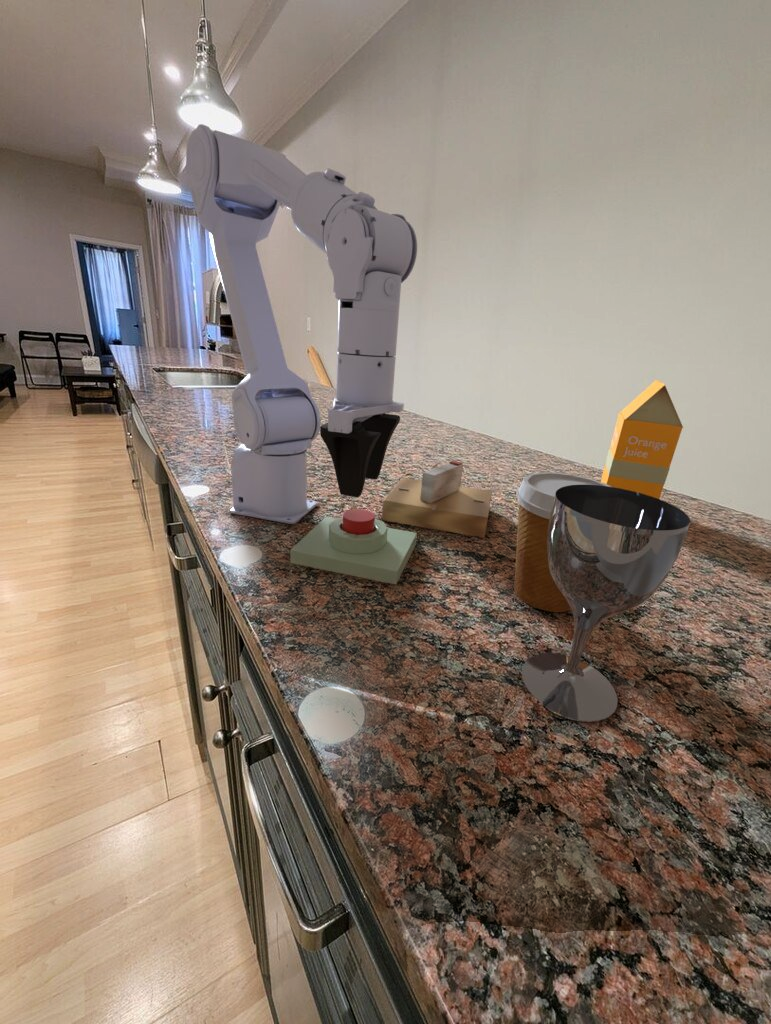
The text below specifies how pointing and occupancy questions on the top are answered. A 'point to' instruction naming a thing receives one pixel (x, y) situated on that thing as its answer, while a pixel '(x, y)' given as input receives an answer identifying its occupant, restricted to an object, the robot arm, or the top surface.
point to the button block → (356, 550)
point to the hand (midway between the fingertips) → (360, 485)
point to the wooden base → (438, 509)
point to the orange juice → (643, 443)
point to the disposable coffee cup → (539, 539)
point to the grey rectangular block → (441, 481)
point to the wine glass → (600, 583)
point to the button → (358, 522)
